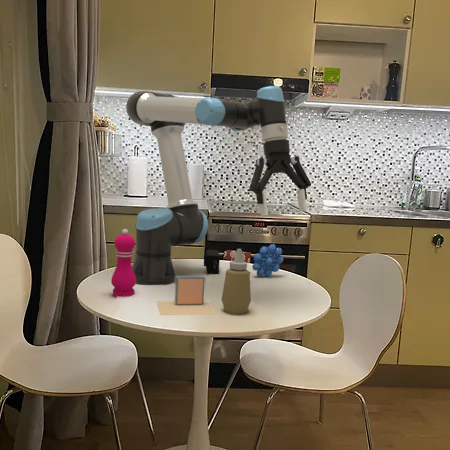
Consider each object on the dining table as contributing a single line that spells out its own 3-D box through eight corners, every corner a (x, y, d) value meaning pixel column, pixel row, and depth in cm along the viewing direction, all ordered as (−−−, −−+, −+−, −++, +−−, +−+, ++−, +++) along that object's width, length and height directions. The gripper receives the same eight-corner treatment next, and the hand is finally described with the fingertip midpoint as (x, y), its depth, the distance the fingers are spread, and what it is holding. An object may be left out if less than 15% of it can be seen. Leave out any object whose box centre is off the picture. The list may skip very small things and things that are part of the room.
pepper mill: (114, 299, 148) (116, 231, 145) (108, 293, 154) (109, 227, 151) (138, 297, 151) (141, 230, 148) (131, 291, 157) (133, 226, 154)
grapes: (277, 273, 190) (279, 241, 188) (284, 278, 183) (287, 245, 182) (247, 274, 186) (249, 241, 184) (254, 279, 180) (256, 245, 178)
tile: (174, 303, 146) (175, 275, 145) (202, 302, 148) (203, 275, 146) (175, 305, 144) (176, 277, 142) (203, 305, 145) (204, 277, 144)
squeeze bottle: (228, 318, 137) (231, 252, 134) (216, 309, 144) (219, 246, 141) (255, 316, 140) (259, 251, 137) (242, 307, 147) (246, 245, 145)
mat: (156, 303, 147) (156, 301, 147) (207, 302, 150) (207, 300, 150) (160, 317, 135) (160, 314, 135) (215, 316, 138) (215, 313, 138)
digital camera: (202, 267, 193) (203, 249, 192) (217, 267, 194) (218, 249, 193) (203, 274, 183) (204, 255, 182) (218, 274, 184) (219, 255, 182)
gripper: (245, 138, 140) (254, 216, 140) (317, 137, 152) (326, 208, 152) (232, 144, 147) (240, 218, 146) (302, 142, 158) (310, 210, 158)
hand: (284, 213), depth 149 cm, fingers open, 13 cm apart
